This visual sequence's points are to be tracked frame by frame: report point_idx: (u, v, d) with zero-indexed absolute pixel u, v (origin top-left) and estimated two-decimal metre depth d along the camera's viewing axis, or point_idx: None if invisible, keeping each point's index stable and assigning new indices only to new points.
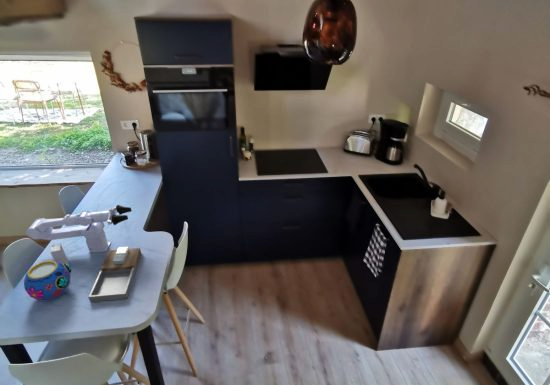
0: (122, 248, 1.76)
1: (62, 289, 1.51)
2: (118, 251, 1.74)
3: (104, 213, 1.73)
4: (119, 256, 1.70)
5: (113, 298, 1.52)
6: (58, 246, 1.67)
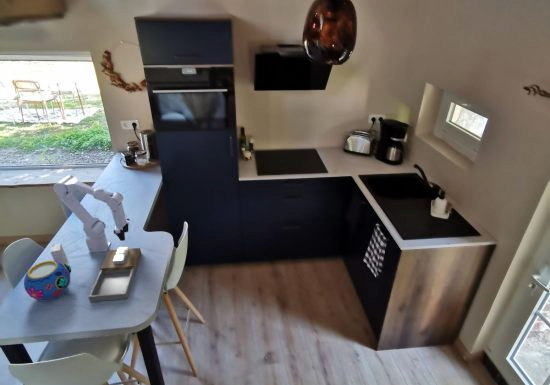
0: (122, 248, 1.76)
1: (62, 289, 1.51)
2: (118, 251, 1.74)
3: (124, 219, 1.73)
4: (119, 256, 1.70)
5: (113, 298, 1.52)
6: (58, 246, 1.67)
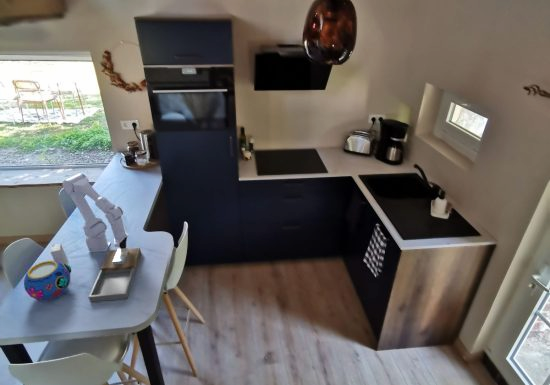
0: (121, 249, 1.75)
1: (62, 289, 1.51)
2: (117, 252, 1.72)
3: (123, 232, 1.70)
4: (119, 257, 1.70)
5: (113, 298, 1.52)
6: (58, 246, 1.67)
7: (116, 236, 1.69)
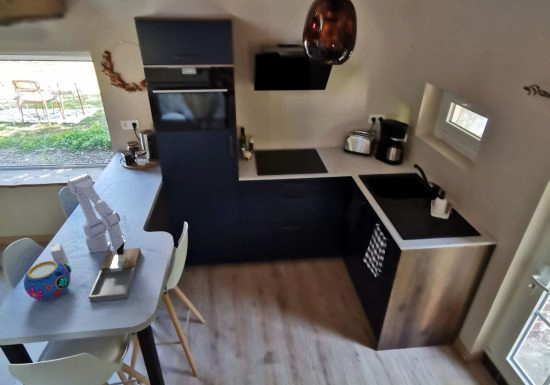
0: (119, 255, 1.71)
1: (62, 289, 1.51)
2: (115, 259, 1.68)
3: (120, 238, 1.66)
4: (116, 263, 1.65)
5: (113, 298, 1.52)
6: (58, 246, 1.67)
7: (113, 242, 1.65)
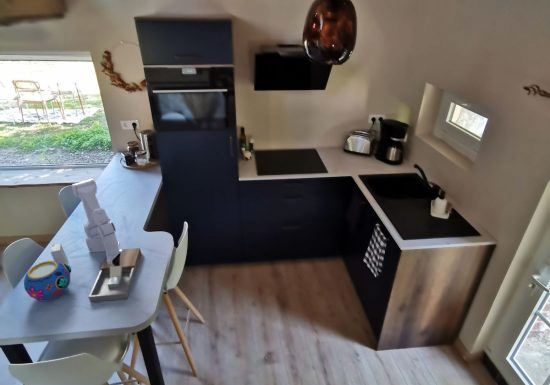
0: (114, 267, 1.64)
1: (62, 289, 1.51)
2: (111, 273, 1.63)
3: (116, 248, 1.59)
4: None
5: (113, 298, 1.52)
6: (58, 246, 1.67)
7: (109, 252, 1.58)
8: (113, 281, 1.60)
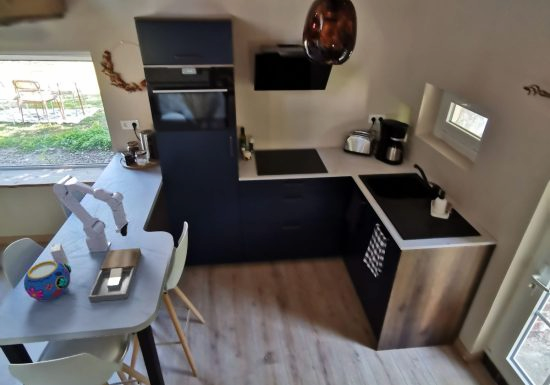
0: (115, 269, 1.65)
1: (62, 289, 1.51)
2: (111, 275, 1.63)
3: (124, 218, 1.73)
4: None
5: (113, 298, 1.52)
6: (58, 246, 1.67)
7: (117, 222, 1.72)
8: (113, 282, 1.59)
